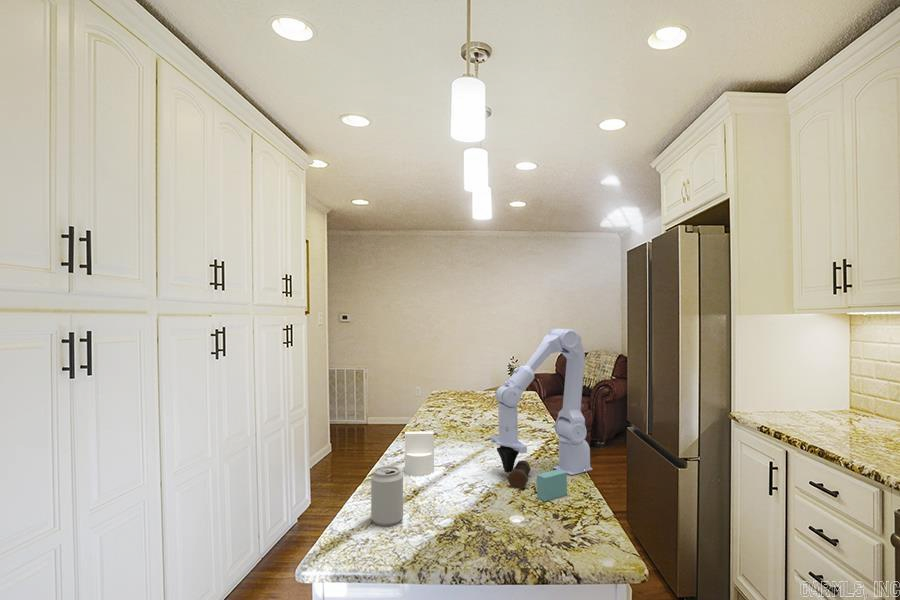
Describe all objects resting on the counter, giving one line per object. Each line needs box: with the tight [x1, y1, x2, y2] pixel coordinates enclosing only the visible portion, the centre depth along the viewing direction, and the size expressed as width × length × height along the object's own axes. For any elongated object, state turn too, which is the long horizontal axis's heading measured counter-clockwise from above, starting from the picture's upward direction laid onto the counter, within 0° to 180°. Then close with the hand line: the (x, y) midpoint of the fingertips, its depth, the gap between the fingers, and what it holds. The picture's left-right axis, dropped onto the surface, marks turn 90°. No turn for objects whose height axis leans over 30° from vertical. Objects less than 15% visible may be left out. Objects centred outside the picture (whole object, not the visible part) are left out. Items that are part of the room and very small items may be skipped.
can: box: [370, 465, 404, 527], centre depth 111 cm, size 8×8×12 cm
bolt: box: [506, 459, 532, 490], centre depth 137 cm, size 6×5×15 cm
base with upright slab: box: [404, 430, 435, 477], centre depth 145 cm, size 9×9×12 cm
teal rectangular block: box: [535, 469, 568, 502], centre depth 126 cm, size 8×6×6 cm
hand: (508, 471), depth 140 cm, fingers closed
